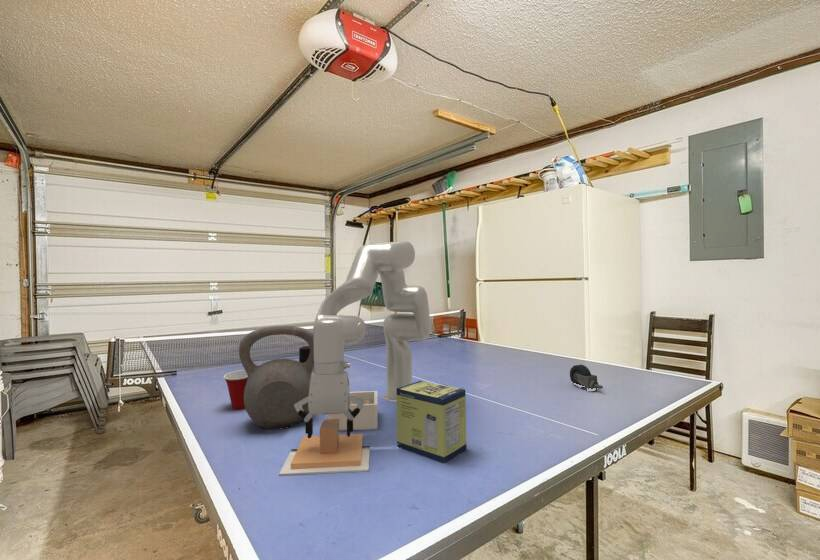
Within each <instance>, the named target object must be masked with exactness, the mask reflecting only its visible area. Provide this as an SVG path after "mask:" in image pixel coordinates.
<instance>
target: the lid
mask: <svg viewBox="0 0 820 560" xmlns="http://www.w3.org/2000/svg"><path fill="white" fill-rule="evenodd" d="M320 425H321V426H320V427H319V435H312V436H311V438H308V435H304V436H303V437H302V438H301V441H300V443H299V445H298V447H297V448H296V449H297V451H296V454H295V456H294V458H293V460H292V462H291V469H303V468H322V467H342V466H361V455H362V446H363V438H364V434H363V433H354V434H353V433H350V437H348V436H347V434H340V430H339V419H328V418H326V419H325V418H324V419H323V420H322V422H321V424H320Z"/></svg>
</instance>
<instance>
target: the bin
mask: <svg viewBox="0 0 820 560" xmlns="http://www.w3.org/2000/svg"><path fill="white" fill-rule="evenodd" d="M350 394H351V395H353V396H355V397H357V398H360V399H362V400H370V404H363V406H362V408H361V410H360V412H359V413H358V415H357V416H356V417H355V418H354V419H353V431H359V430H361V431H362V430H363V431H364V430H378V426H379V425H378V421H379V420H378V419H379V418H378V413H379V411H378V409H379V407H378V406H379V405H378V398H379V397H378V390H368V391H367V390H365V391H350ZM356 407H357V404H350V406H349V408H350V409H351V410H352V411H353V410H354V409H355V408H356ZM327 416H328V418H327V419H339V431H347V417H346V415H345V414H344V413H341V414H327Z"/></svg>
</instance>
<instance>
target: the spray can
mask: <svg viewBox="0 0 820 560" xmlns="http://www.w3.org/2000/svg"><path fill="white" fill-rule="evenodd" d="M309 354H310V347H309V345H305V346H301V347H300V348H299V350H298V355H299V356H298V358H299V359H298V362H300V363H304V362H306V361H307V359H308V357H309ZM312 372H314V367H313V370H312Z"/></svg>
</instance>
